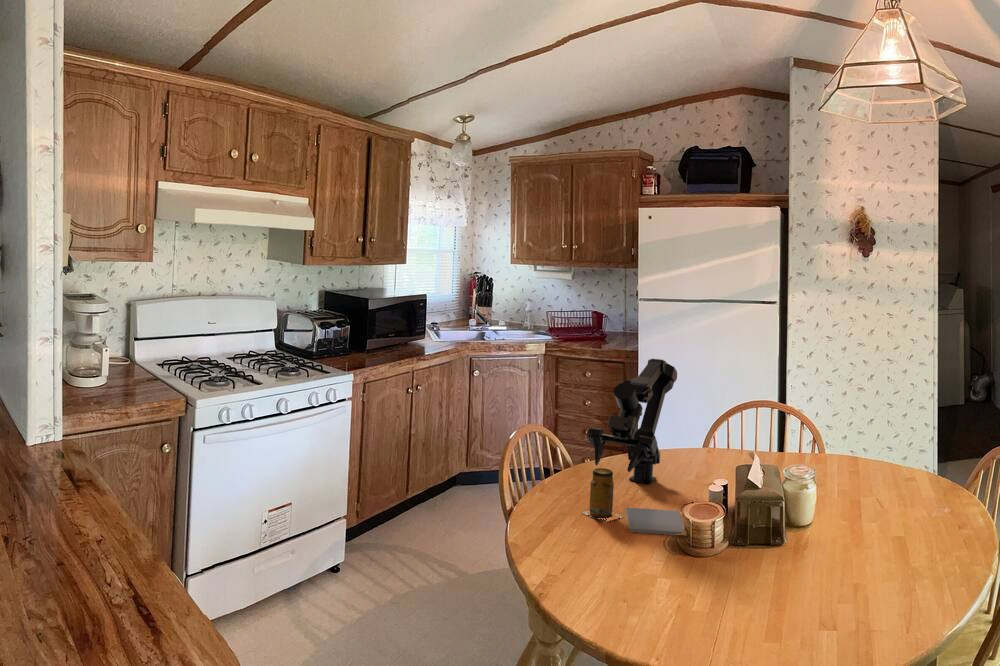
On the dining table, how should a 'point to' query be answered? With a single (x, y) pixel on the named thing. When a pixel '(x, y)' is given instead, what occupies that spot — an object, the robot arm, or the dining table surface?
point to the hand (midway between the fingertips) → (612, 467)
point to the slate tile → (654, 521)
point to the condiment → (601, 495)
